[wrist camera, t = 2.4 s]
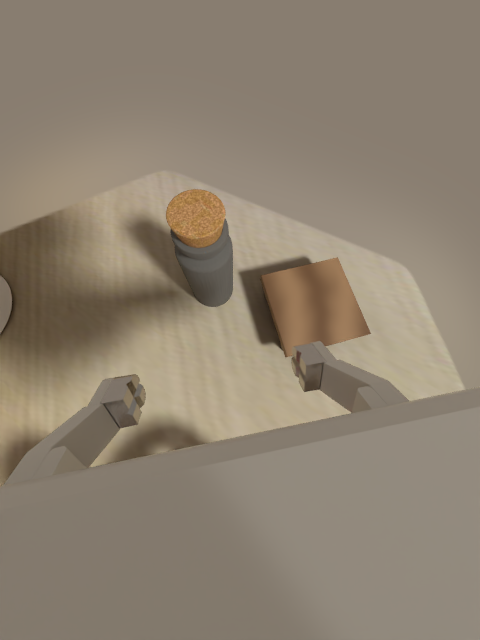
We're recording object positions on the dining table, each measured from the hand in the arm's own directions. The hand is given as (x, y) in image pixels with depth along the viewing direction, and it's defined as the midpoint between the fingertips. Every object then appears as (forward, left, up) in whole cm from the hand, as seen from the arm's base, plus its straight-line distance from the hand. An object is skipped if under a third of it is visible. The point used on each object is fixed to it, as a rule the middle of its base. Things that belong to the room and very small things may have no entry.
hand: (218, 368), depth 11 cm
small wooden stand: (+13, +5, -17) cm, 22 cm away
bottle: (+1, +12, -18) cm, 22 cm away
